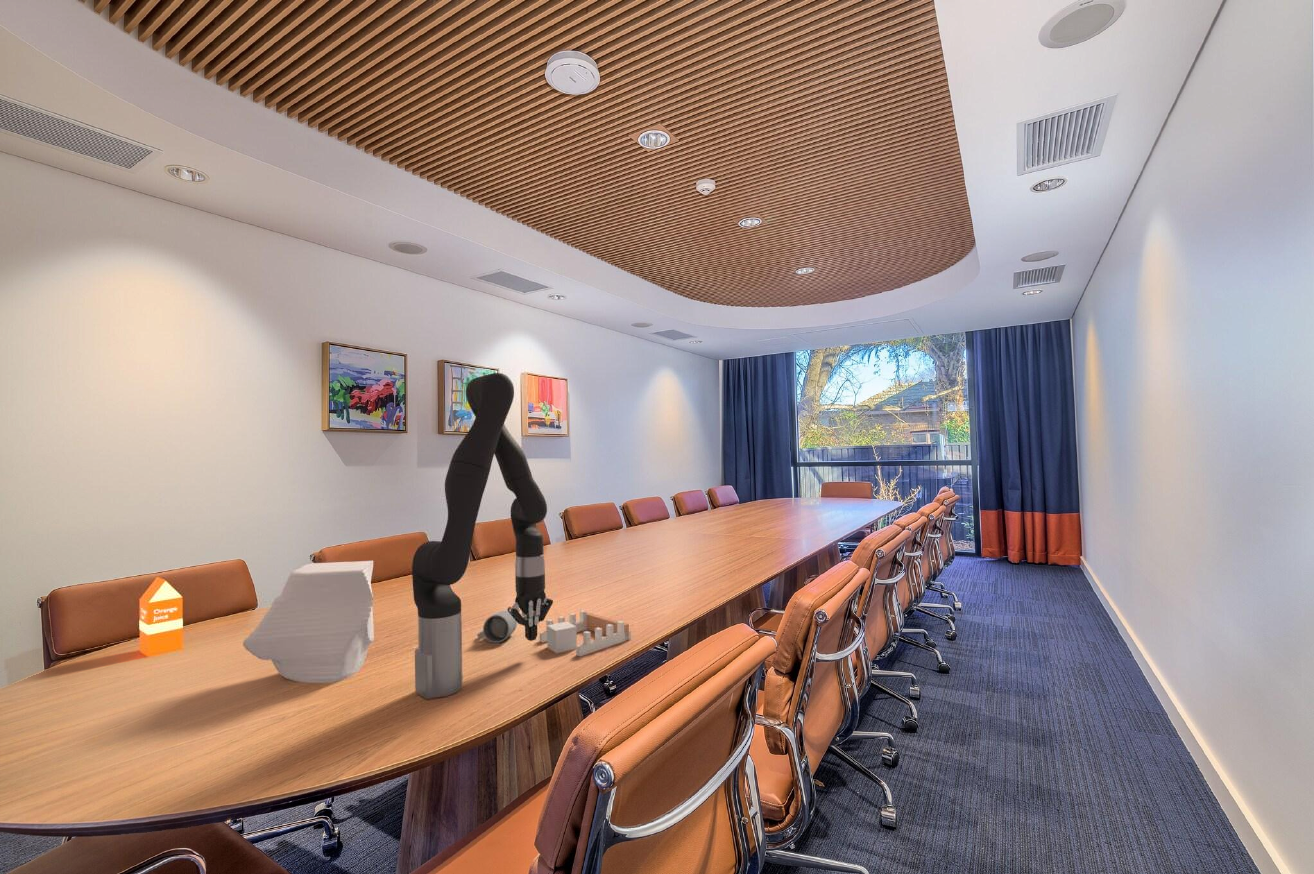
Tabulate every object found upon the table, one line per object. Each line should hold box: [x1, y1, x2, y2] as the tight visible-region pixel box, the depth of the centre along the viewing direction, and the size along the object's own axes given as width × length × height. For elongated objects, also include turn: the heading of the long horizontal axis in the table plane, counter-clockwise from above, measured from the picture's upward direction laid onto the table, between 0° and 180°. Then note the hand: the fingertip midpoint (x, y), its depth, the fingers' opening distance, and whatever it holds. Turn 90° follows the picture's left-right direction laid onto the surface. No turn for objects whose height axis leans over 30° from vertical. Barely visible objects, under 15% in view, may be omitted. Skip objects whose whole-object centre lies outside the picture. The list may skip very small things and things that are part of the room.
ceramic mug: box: [476, 610, 518, 644], centre depth 168 cm, size 11×8×8 cm
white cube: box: [546, 621, 578, 654], centre depth 158 cm, size 6×6×6 cm
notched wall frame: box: [539, 609, 632, 657], centre depth 164 cm, size 18×18×5 cm
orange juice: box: [138, 576, 184, 658], centre depth 164 cm, size 8×9×20 cm
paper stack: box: [242, 560, 375, 684], centre depth 147 cm, size 21×27×26 cm
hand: (531, 639), depth 152 cm, fingers closed
